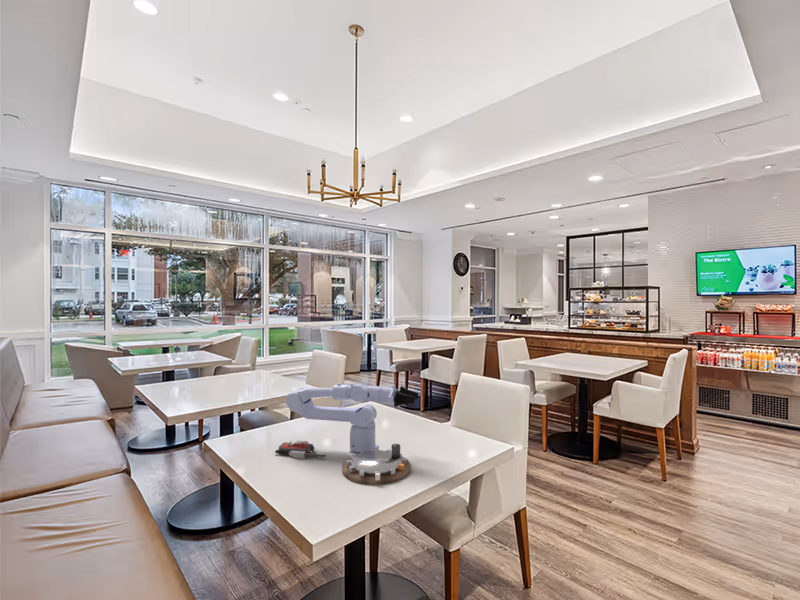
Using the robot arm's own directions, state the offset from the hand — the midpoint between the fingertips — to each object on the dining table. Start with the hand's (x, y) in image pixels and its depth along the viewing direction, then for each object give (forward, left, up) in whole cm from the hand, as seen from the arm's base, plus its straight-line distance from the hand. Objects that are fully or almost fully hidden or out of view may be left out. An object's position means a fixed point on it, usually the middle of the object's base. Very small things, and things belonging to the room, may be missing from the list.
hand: (416, 397), depth 149 cm
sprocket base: (-12, -16, -20) cm, 29 cm away
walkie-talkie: (-42, -7, -21) cm, 47 cm away
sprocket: (-12, -16, -19) cm, 28 cm away
